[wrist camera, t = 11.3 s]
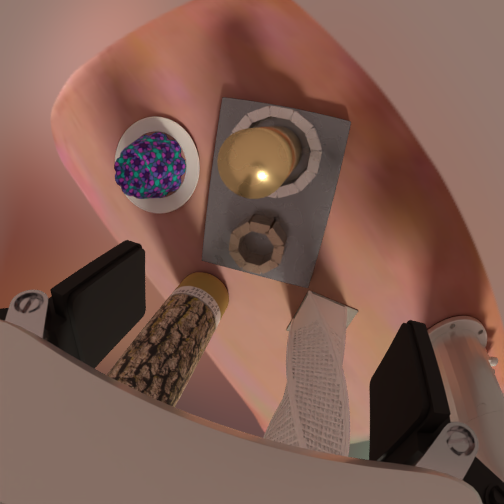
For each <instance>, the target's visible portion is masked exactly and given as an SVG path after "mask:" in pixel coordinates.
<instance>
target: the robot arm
mask: <svg viewBox="0 0 504 504" xmlns="http://www.w3.org/2000/svg"><path fill="white" fill-rule="evenodd" d="M51 294H52V297H50V298H49V299H48V297H47V295H46V294H45V293H44V292H42V291H39V290H27V291H24V292H21V293H19V294H18V295H16V296H15V297H14V298H13V299H12V301H11V303H10V306H9V308H5V309H4V308H3V309H0V504H504V396H503V393H502V391H501V388H500V386H499V383H498V381H497V379H496V376H495V370H494V369H493V368H492V367H491V366H496V365H497V363H498V358H497V357H489V355H488V353H487V351H486V349H485V348H486V345H487V333H486V330H485V328H484V326H483V325H482V323H481V322H480V321H479V320H477V319H475V318H473V317H469V316H456V317H452V318H449V319H446V320H443V321H441V322H439V323H437V324H436V325H434V326H433V327H431V328H430V329H429V330H427V328H426V325H425V324H424V323H420V322H416V321H412V320H409V321H408V322H407V323H403V324H402V325H401V327H400V329H399V330H398V332H397V334H396V336H395V338H394V340H393V342H392V344H391V345H390V347H389V349H388V351H387V353H386V354H385V356H384V358H383V359H382V361H381V363H380V365H379V366H378V368H377V370H376V371H375V373H374V375H373V376H372V378H371V381H370V452H369V460H365V459H358V458H352V457H346V456H341V455H335V454H329V453H324V452H319V451H314V450H309V449H305V448H300V447H296V446H292V445H288V444H284V443H280V442H276V441H272V440H268V439H265V438H261V437H258V436H254V435H251V434H248V433H244V432H241V431H238V430H235V429H232V428H228V427H226V426H223V425H220V424H217V423H214V422H211V421H209V420H206V419H203V418H200V417H197V416H195V415H192V414H190V413H187V412H185V411H182V410H180V409H177V408H175V407H173V406H170V405H168V404H165V403H163V402H161V401H159V400H156V399H154V398H152V397H150V396H147V395H145V394H143V393H141V392H139V391H137V390H135V389H133V388H131V387H128V386H126V385H124V384H122V383H120V382H118V381H116V380H115V379H113V378H111V377H109V376H107V375H105V374H103V373H101V372H99V371H98V370H96V369H94V368H95V367H96V366H97V365H98V364H99V363H100V362H101V361H102V359H104V357H105V356H106V355H107V354H108V353H109V352H110V351H111V350H112V349H113V348H114V347H115V346H116V345H117V344H118V343H119V342H120V340H121V339H122V338H123V337H124V336H125V335H126V334H127V333H128V332H129V331H130V330H131V329H132V328H133V327H134V326H135V325H136V323H137V322H139V320H140V319H141V318H142V317H143V316H144V314H145V310H146V309H145V308H146V306H145V251H144V249H142V246H141V245H140V244H138V243H135V242H132V241H129V240H126V241H124V242H122V243H120V244H119V245H117V246H116V247H114V248H112V249H111V250H109V251H108V252H106V253H105V254H103V255H101V256H100V257H98V258H97V259H95V260H94V261H92V262H90V263H89V264H87V265H86V266H84V267H83V268H81V269H80V270H78V271H77V272H75V273H74V274H72V275H71V276H69V277H68V278H66V279H65V280H63V281H62V282H60V283H59V284H58V285H56V286H55V287H53V288H52V289H51Z"/></svg>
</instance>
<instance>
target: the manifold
mask: <svg viewBox="0 0 504 504" xmlns="http://www.w3.org/2000/svg"><path fill="white" fill-rule="evenodd" d="M350 125H351V122H350V121H347V120H343V119H339V118H335V117H331V116H327V115H322V114H318V113H314V112H309V111H304V110H300V109H295V108H289V107H284V106H279V105H273V104H267V103H261V102H254V101H248V100H240V99H233V98H225V97H223V98H222V104H221V110H220V117H219V123H218V130H217V137H216V144H215V151H214V158H213V166H212V173H211V181H210V189H209V197H208V206H207V215H206V224H205V233H204V243H203V253H202V261H205V262H209V263H213V264H216V265H220V266H224V267H228V268H231V269H235V270H239V271H243V272H247V273H250V274H254V275H258V276H262V277H266V278H270V279H274V280H277V281H281V282H285V283H289V284H293V285H297V286H301V287H305V288H308V287H309V283H310V280H311V277H312V273H313V270H314V267H315V263H316V260H317V256H318V253H319V249H320V246H321V242H322V239H323V235H324V231H325V228H326V224H327V220H328V217H329V213H330V209H331V205H332V201H333V197H334V193H335V190H336V185H337V181H338V177H339V173H340V169H341V165H342V161H343V156H344V152H345V147H346V143H347V138H348V134H349V129H350ZM268 126H282V127H286V128H288V129H290V130H291V131H293V132H294V133H295V134H296V135H297V137H298V138H299V140H300V142H301V146H302V156H301V160H300V162H299V164H298V165H297V166H296V168H295V169H294V170H293V171H292V172H291V174H290V175H289V176H288V177H287V179H286V180H285V181H284V182H283V184H282V185H281V186H280V187H279V188H278V189H277V190H276V191H275V192H274V193H272V194H271V195H269V196H266V197H263V198H259V199H249V198H244V197H241V196H239V195H237V194H235V193H234V192H232V191H231V190H230V189H229V188H228V187H227V186H226V185H225V184H224V182H223V181H222V179H221V177H220V174H219V171H218V165H217V160H218V154H219V150H220V148H221V146H222V144H223V143H224V141H225V140H226V139H227V138H228V137H229V136H230V135H232V134H233V133H235V132H237V131H239V130H242V129H247V128H257V127H268Z"/></svg>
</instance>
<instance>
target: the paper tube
mask: <svg viewBox="0 0 504 504" xmlns="http://www.w3.org/2000/svg"><path fill="white" fill-rule="evenodd" d="M228 302H229V296H228V292H227V289H226V288H225V286H224V284H223V283H222V282H221V281H220V280H219V279H218V278H216V277H215V276H213V275H211V274H208V273H203V272H196V273H192V274H190V275H188V276H187V277H186V278H185V279H184V280H183V281H182V282H181V283H180V285H179V286H178V287H177V288H176V289H175V291H174V292H173V293H172V294H171V295H170V296H169V298H168V299H167V300H166V301H165V303H164V304H163V305H162V306H161V307H160V309H159V310H158V311H157V312H156V313H155V315H154V316H153V317H152V318H151V320H150V321H149V322H148V323H147V325H146V326H145V327H144V328H143V330H142V331H141V332H140V333H139V335H138V336H137V337H136V338H135V340H134V341H133V342H132V343H131V345H130V346H129V347H128V348H127V350H126V351H125V352H124V354H123V355H122V356H121V357H120V358H119V360H118V361H117V362H116V364H115V365H114V366H113V368H112V369H111V370H110V371H109V373H108V374H107V376H109V377H111V378H113V379H115V380H116V381H118V382H120V383H122V384H124V385H126V386H128V387H131V388H133V389H135V390H137V391H139V392H141V393H143V394H145V395H147V396H150V397H152V398H154V399H156V400H159V401H161V402H163V403H165V404H168V405H170V406H173V407H175V406H176V404H177V402H178V400H179V398H180V396H181V394H182V392H183V390H184V389H185V387H186V385H187V383H188V381H189V379H190V377H191V375H192V373H193V372H194V370H195V368H196V366H197V364H198V362H199V360H200V358H201V356H202V354H203V352H204V351H205V349H206V347H207V345H208V343H209V341H210V339H211V337H212V335H213V333H214V331H215V330H216V328H217V326H218V324H219V322H220V320H221V318H222V316H223V314H224V312H225V310H226V308H227V306H228Z"/></svg>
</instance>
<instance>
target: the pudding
mask: <svg viewBox="0 0 504 504" xmlns="http://www.w3.org/2000/svg"><path fill="white" fill-rule="evenodd" d="M154 131H159V132H155V133H154V134H152V135H150V136H148V135H144V134H146V133H149V132H154ZM161 132H164V133H167V134H169V135H170V136H172V137H173V138H174V139H176V141H177V142H178V143H179V144H180V146H181V147H182V149H183V151H184V154H185V158H186V163H185V160H184V159H183V158H182V157H181V156H180V155H181V148H180V146H179V144H178V143H177V142H176V141H175V140H168V138H167V136H166V135H165V134H163V133H161ZM142 135H144V136H142ZM186 165H187V168H186ZM114 169H115V171H116V174H115V181H116V183H117V184H118V185H119V186H120V187H121V189H122V191H123V192H124V194H125V195H126V196H127V198H128V199H129V200H130V201H131V202H132V203H133V204H135V205H136V206H137V207H139V208H141V209H143V210H145V211H148V212H152V213H167V212H171V211H174V210H176V209H178V208H179V207H181V206H182V205H183V204H184V203H186V202H187V201H188V200H189V198H190V197H191V195H192V194H193V192H194V190H195V188H196V185H197V182H198V178H199V169H200V167H199V157H198V153H197V149H196V147H195V144H194V142H193V140H192V139H191V137H190V135H189V134H188V133H187V132H186V131H185V130H184V128H183V127H181V126H180V125H179V124H177V123H176V122H174V121H172V120H170V119H167V118H163V117H147V118H144V119H141V120H139V121H137V122H136V123H134V124H132V125H131V126H130V127H129V128H128V129H127V130H126V131H125V133H124V134H123V135H122V137H121V139H120V141H119V143H118V146H117V149H116V155H115V165H114ZM185 169H186V175H185V179H184V181H183V183H182V185H181V176H182V175H183V174H184V173H185ZM180 185H181V186H180ZM179 187H180V188H179ZM178 188H179V189H178ZM177 189H178V190H177ZM176 190H177V191H176ZM172 191H176V192H175V193H173V194H172V195H170V196H168V197H165V196H166V195H167V194H168V192H172ZM162 197H164V198H162Z"/></svg>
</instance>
